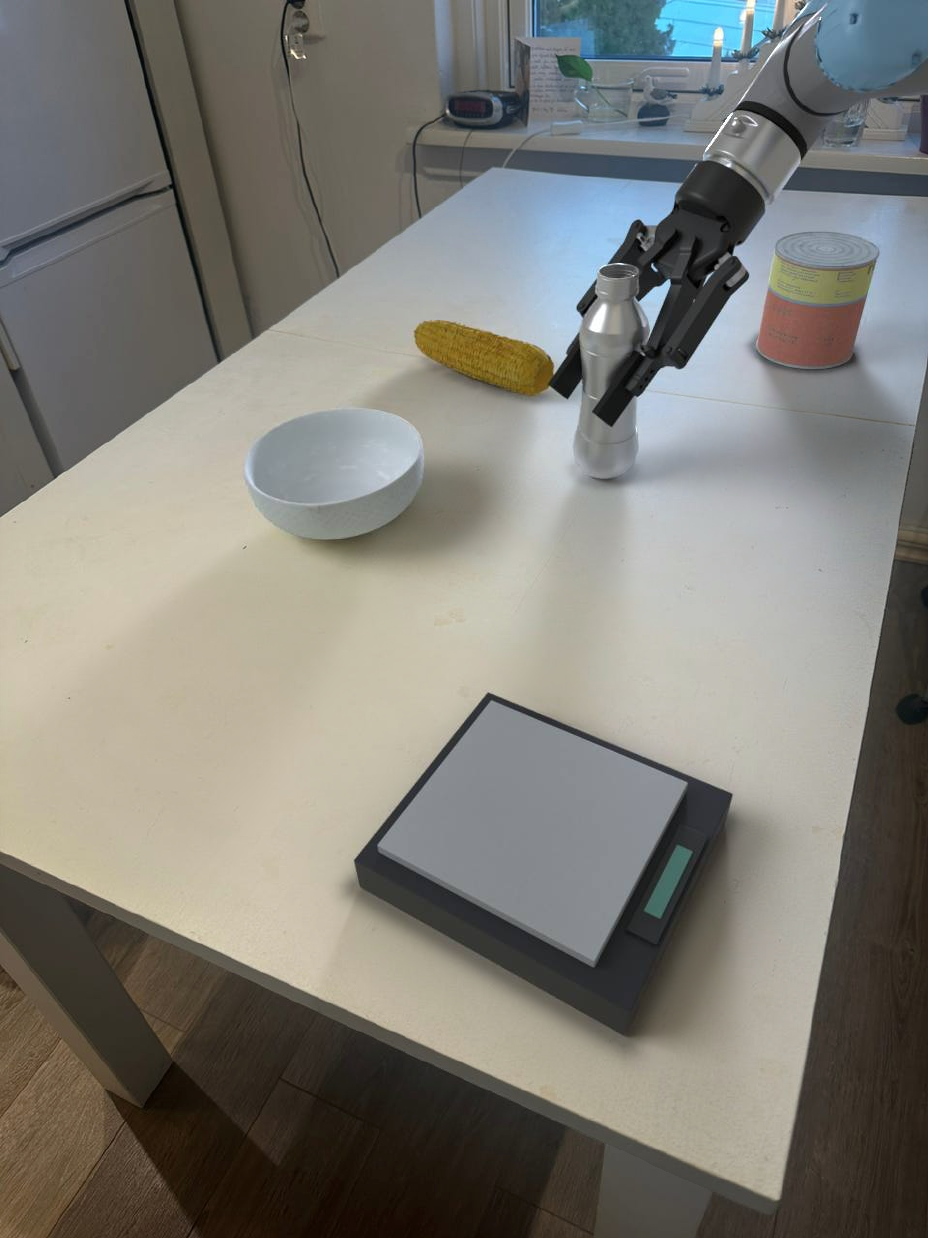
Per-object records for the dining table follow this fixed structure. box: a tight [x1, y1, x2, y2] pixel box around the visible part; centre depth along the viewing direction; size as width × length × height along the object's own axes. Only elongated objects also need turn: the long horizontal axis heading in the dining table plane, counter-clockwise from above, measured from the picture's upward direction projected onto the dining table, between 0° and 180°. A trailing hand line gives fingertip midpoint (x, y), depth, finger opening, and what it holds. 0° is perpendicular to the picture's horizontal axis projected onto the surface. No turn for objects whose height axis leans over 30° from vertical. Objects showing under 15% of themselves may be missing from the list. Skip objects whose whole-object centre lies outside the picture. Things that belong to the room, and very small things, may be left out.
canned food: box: [755, 231, 880, 370], centre depth 103 cm, size 11×11×12 cm
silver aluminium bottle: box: [572, 264, 651, 480], centre depth 82 cm, size 6×7×20 cm
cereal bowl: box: [242, 407, 425, 541], centre depth 83 cm, size 17×17×7 cm
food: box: [413, 319, 555, 396], centre depth 104 cm, size 21×6×6 cm, turn 48°
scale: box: [353, 691, 734, 1037], centre depth 55 cm, size 18×16×4 cm
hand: (579, 404), depth 82 cm, fingers closed on silver aluminium bottle, 6 cm apart
